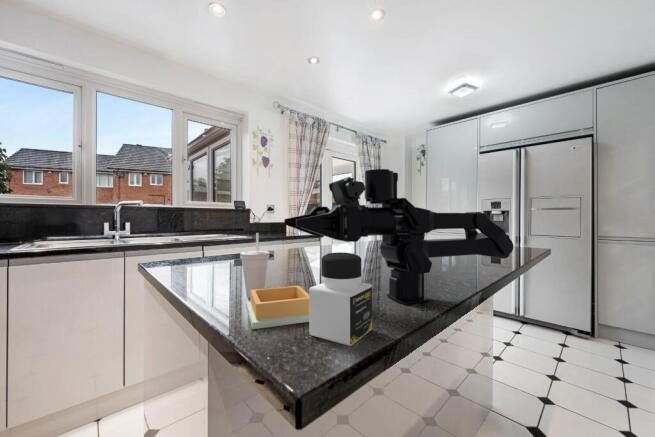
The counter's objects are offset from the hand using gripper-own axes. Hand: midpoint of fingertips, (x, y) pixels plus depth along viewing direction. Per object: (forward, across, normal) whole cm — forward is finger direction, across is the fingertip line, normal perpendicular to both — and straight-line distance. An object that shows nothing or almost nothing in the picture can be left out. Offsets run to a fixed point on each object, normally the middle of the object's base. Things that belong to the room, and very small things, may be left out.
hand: (289, 222), depth 51 cm
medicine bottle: (-5, +11, +17) cm, 21 cm away
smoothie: (+5, -14, +17) cm, 22 cm away
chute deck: (-3, -1, +17) cm, 17 cm away
